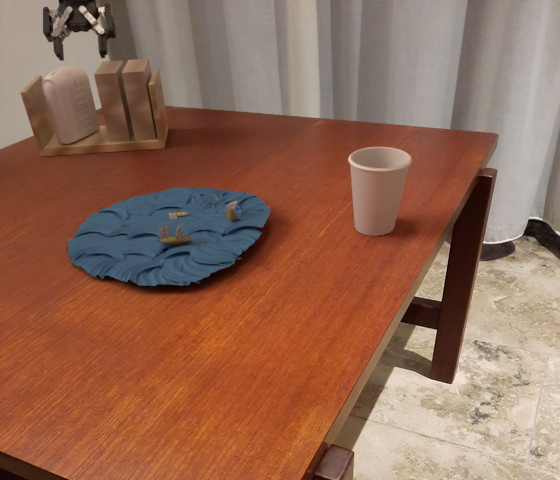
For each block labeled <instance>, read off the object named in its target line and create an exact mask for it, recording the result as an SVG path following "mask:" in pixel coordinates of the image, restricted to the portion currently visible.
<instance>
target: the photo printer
mask: <svg viewBox="0 0 560 480" xmlns="http://www.w3.org/2000/svg"><path fill="white" fill-rule="evenodd" d="M42 89H43V93H44V96H45V100H46V103H47V107H48V110H49V114H50V117H51V121H52V124H53V128H54V131H55V135H56V138H57V140H58V141H59V142H60V143H63V144H71V143H72V142H75V141H77V140H79V139H81V138H83V137H85V136H87V135H89V134H91V133H94V132H96V131H97V130H99V129H100V126H101V125H100V121H99V117H98V112H97V109H96V105H95V104H96V103H95V100H94V96H93V91H92V88H91V83H90V79H89V76H88V74H87V72H86V71H85V69H84V68H82V67H81V66H76V65H64V66H60V67H57V68H55V69H52V71H50V72H49V73H48V74H47V75H46V76H45V77H44V78H43V82H42Z"/></svg>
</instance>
